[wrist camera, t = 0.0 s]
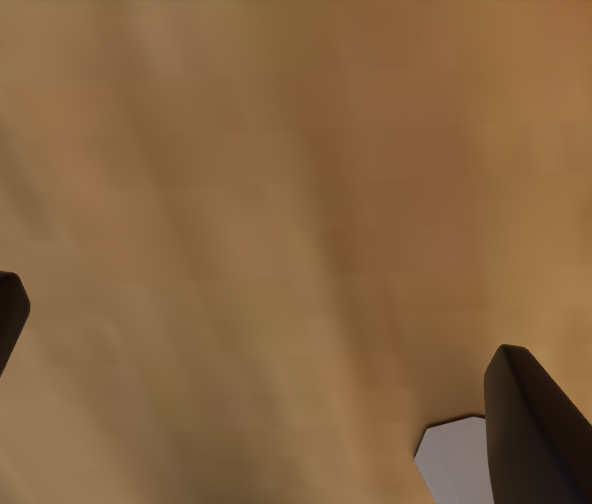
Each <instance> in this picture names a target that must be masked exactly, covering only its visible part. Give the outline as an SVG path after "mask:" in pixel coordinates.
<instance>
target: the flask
mask: <svg viewBox="0 0 592 504" xmlns="http://www.w3.org/2000/svg"><path fill="white" fill-rule="evenodd" d="M414 462H415V464H416V466H417V468H418V470H419V472H420V474H421V476H422V477H423V479H424V481H425V483H426V485H427V487H428V489H429V491H430V492H431V494H432V496H433V498H434V500H435V502H436V503H437V504H494V501H493V495H492V489H491V482H490V476H489V469H488V459H487V442H486V421H485V419H482V418H477V417H470V418H467V419H463V420H459V421H455V422H451V423H447V424H444V425H440V426H436V427H432V428H428V429H427V430H426V432H425V435H424V437H423V440H422V442H421V444H420V447H419V449H418V451H417V454H416V456H415V459H414Z"/></svg>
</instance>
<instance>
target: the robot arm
mask: <svg viewBox="0 0 592 504" xmlns="http://www.w3.org/2000/svg"><path fill="white" fill-rule="evenodd" d="M29 313H30V301H29V298H28V296H27V294H26V291H25V289H24V287H23V284H22V282H21V280H20V278H19V276H18V275H17V274H15V273H12V272H5V271H0V377H1V375H2V373H3V370H4V368H5V366H6V364H7V362H8V360H9V357H10V355H11V353H12V351H13V349H14V346H15V344H16V342H17V340H18V338H19V336H20V333H21V331H22V329H23V327H24V325H25V322H26V320H27V318H28V316H29ZM484 400H485V421H486V442H487V459H488V469H489V476H490V482H491V489H492V495H493V501H494V504H592V425H591V424H590V423H589V422H588V420H587V419H586V418H585V417H584V416H583V414H582V413H581V412H580V411H579V410H578V409H577V407H576V406H575V405H574V404H573V403H572V401H571V400H570V399H569V398H568V397H567V395H566V394H565V393H564V392H563V391H562V390H561V388H560V387H559V386H558V385H557V384H556V382H555V381H554V380H553V379H552V378H551V376H550V375H549V374H548V373H547V372H546V370H545V369H544V368H543V367H542V366H541V365H540V363H539V362H538V361H537V360H536V359H535V357H534V356H533V355H532V354H531V353H530V352H529V350H527V349H526V348H524V347H521V346H515V345H508V344H502V345H501V346H499V348H498V349H497V351H496V353H495V354H494V356H493V358H492V360H491V362H490V364H489V366H488V367H487V369H486V372H485V375H484Z"/></svg>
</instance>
